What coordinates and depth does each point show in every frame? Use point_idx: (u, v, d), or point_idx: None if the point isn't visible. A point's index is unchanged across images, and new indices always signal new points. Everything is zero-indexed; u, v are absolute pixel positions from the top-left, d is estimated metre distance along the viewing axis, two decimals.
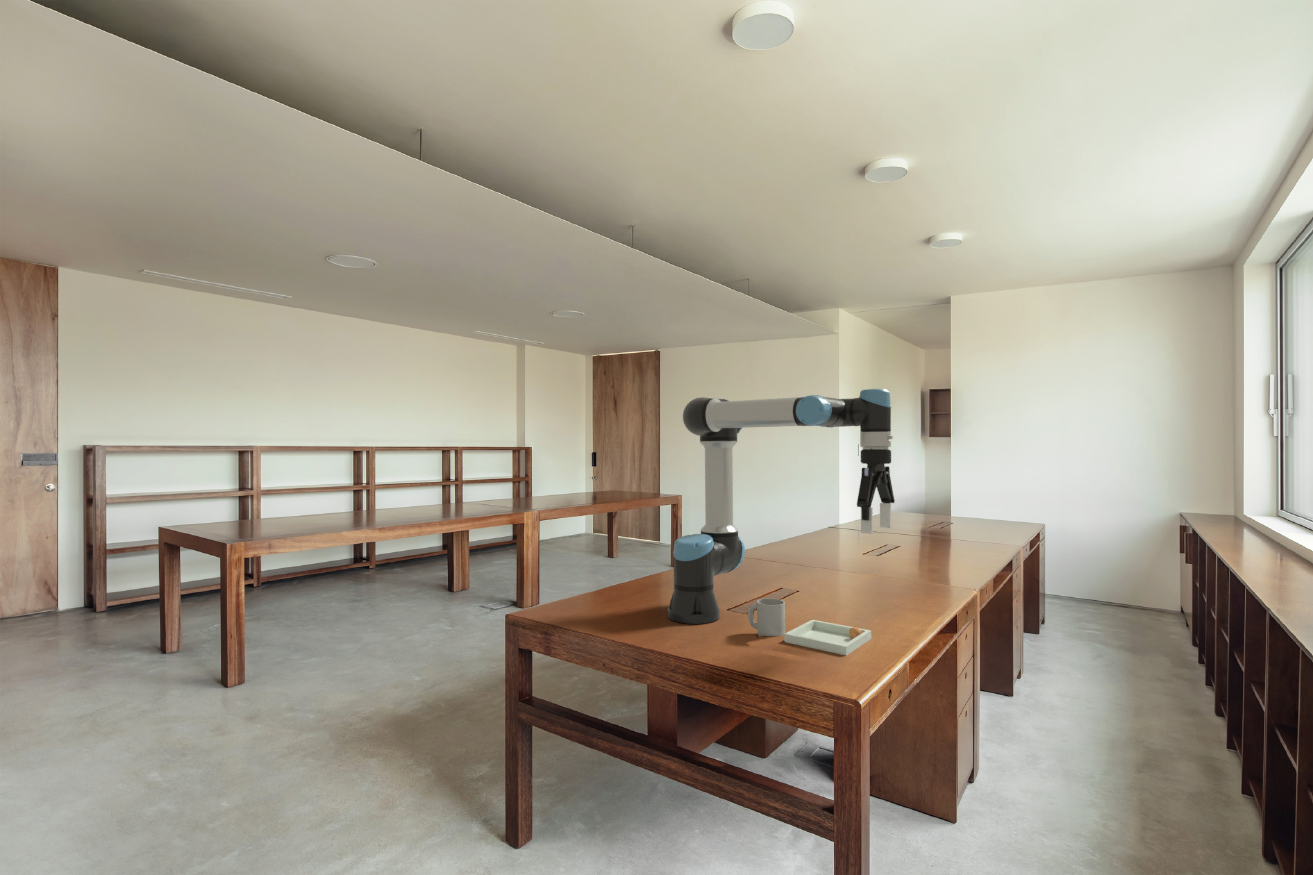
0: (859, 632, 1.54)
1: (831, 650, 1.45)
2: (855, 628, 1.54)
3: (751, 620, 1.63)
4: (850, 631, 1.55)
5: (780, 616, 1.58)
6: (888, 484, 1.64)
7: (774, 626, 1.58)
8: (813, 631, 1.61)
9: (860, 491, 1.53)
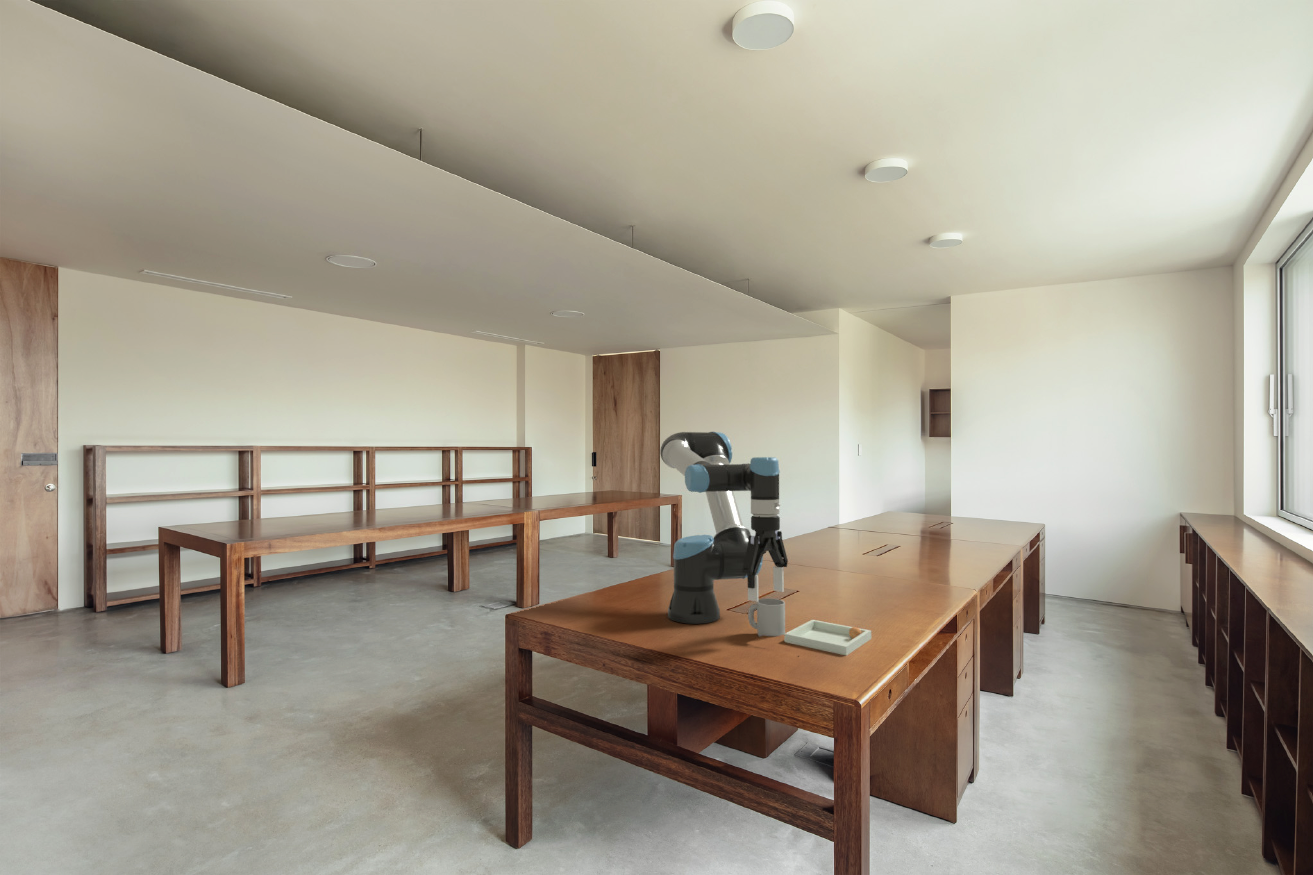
0: (859, 632, 1.54)
1: (831, 650, 1.45)
2: (855, 628, 1.54)
3: (751, 620, 1.63)
4: (850, 631, 1.55)
5: (780, 616, 1.58)
6: (781, 548, 1.67)
7: (774, 626, 1.58)
8: (813, 631, 1.61)
9: (745, 559, 1.56)
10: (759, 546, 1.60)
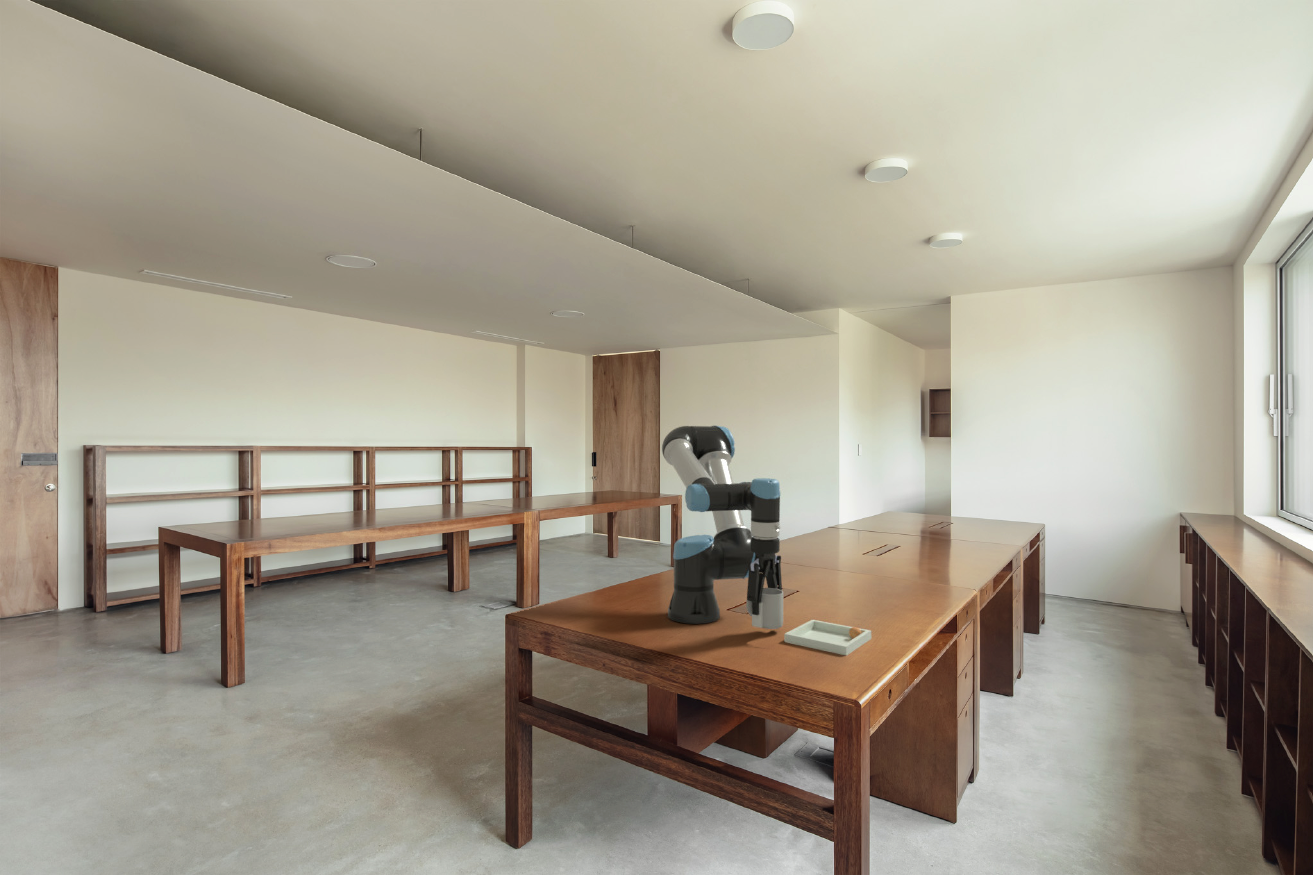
0: (859, 632, 1.54)
1: (831, 650, 1.45)
2: (855, 628, 1.54)
3: (749, 609, 1.64)
4: (850, 631, 1.55)
5: (778, 606, 1.59)
6: (777, 573, 1.66)
7: (773, 615, 1.58)
8: (813, 631, 1.61)
9: (748, 587, 1.58)
10: (758, 568, 1.60)
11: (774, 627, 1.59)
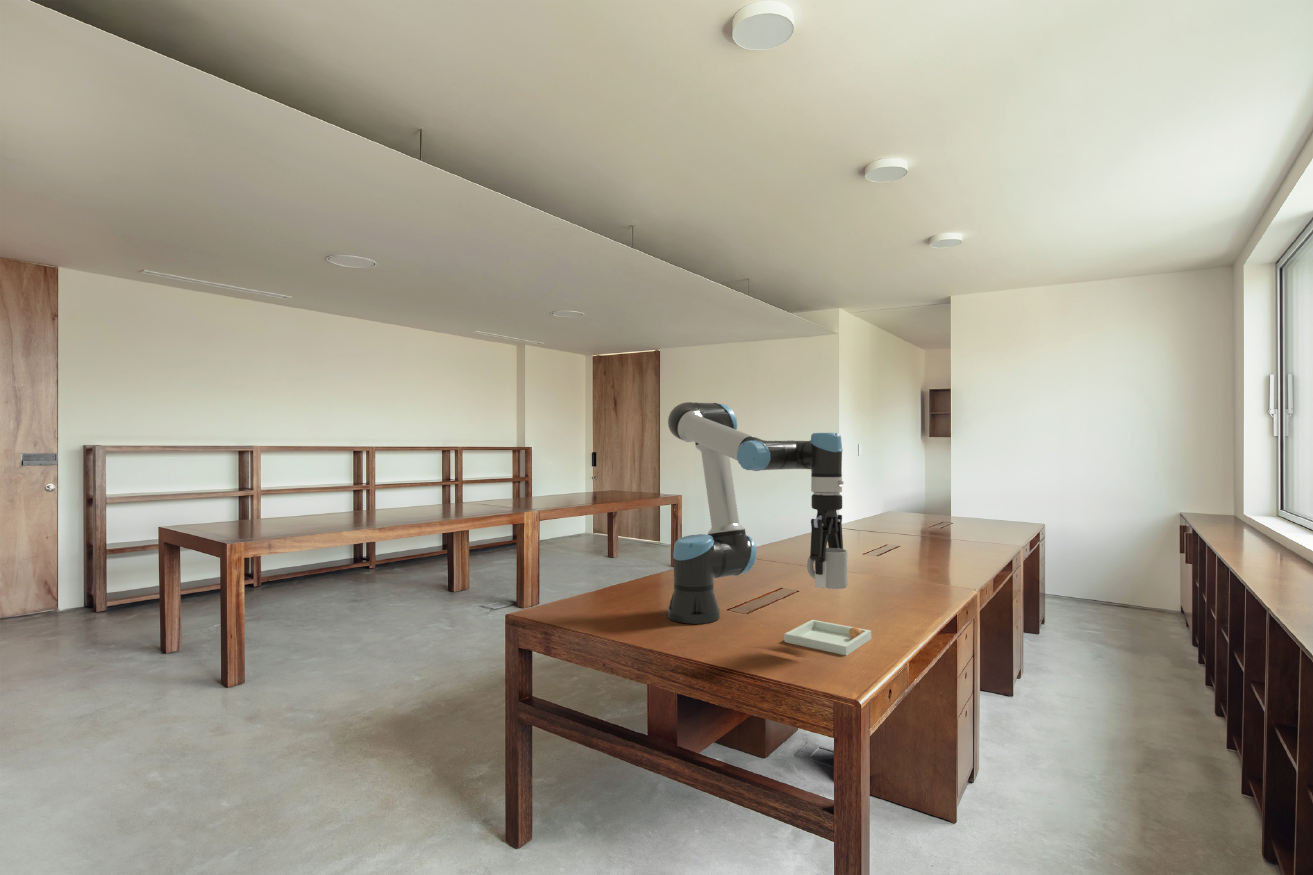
0: (859, 632, 1.54)
1: (831, 650, 1.45)
2: (855, 628, 1.54)
3: (811, 570, 1.55)
4: (850, 631, 1.55)
5: (843, 564, 1.51)
6: (839, 533, 1.58)
7: (838, 574, 1.50)
8: (813, 631, 1.61)
9: (812, 545, 1.50)
10: None
11: (839, 587, 1.50)
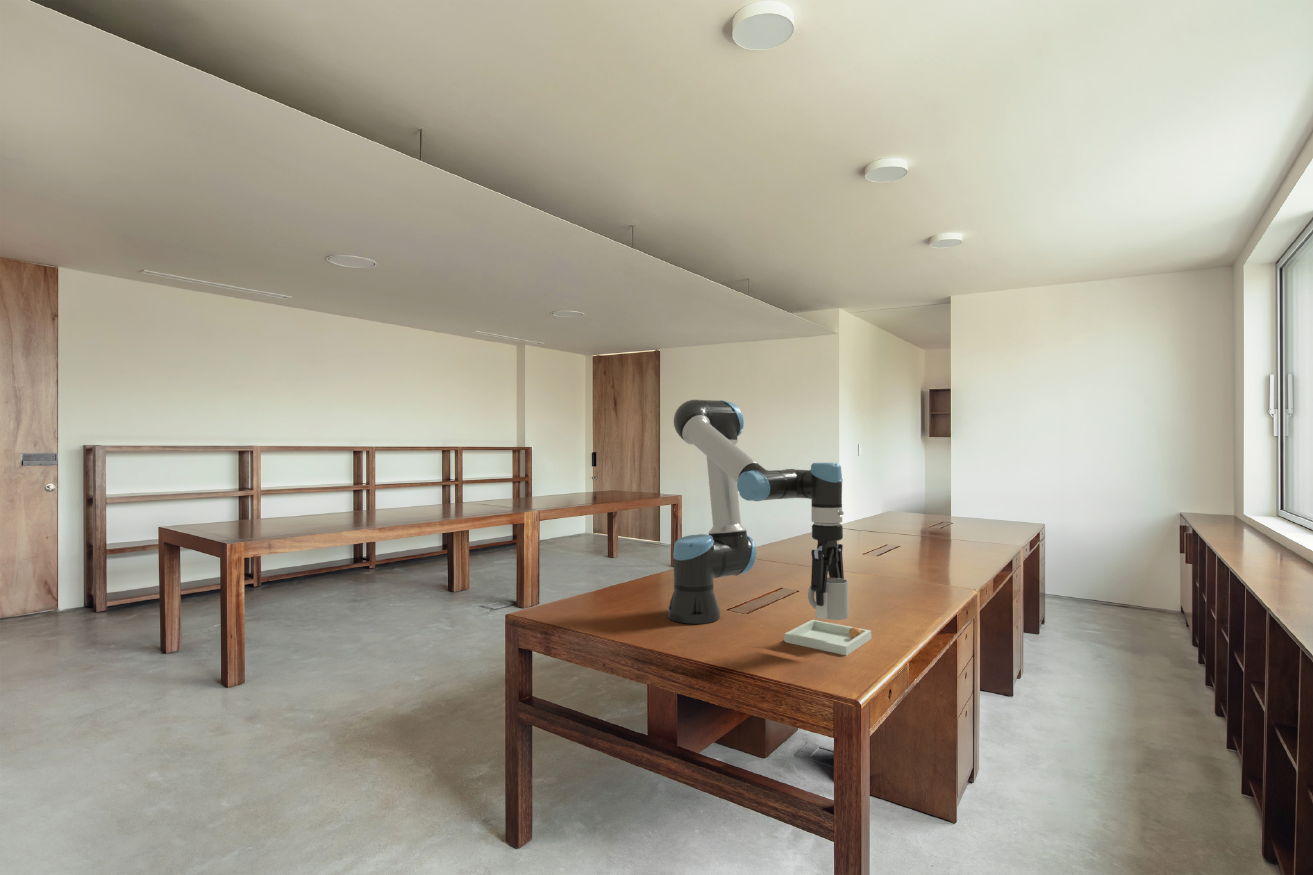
0: (859, 632, 1.54)
1: (831, 650, 1.45)
2: (855, 628, 1.54)
3: (812, 600, 1.55)
4: (850, 631, 1.55)
5: (844, 595, 1.50)
6: (839, 563, 1.58)
7: (839, 605, 1.50)
8: (813, 631, 1.61)
9: (812, 576, 1.50)
10: None
11: (840, 618, 1.50)
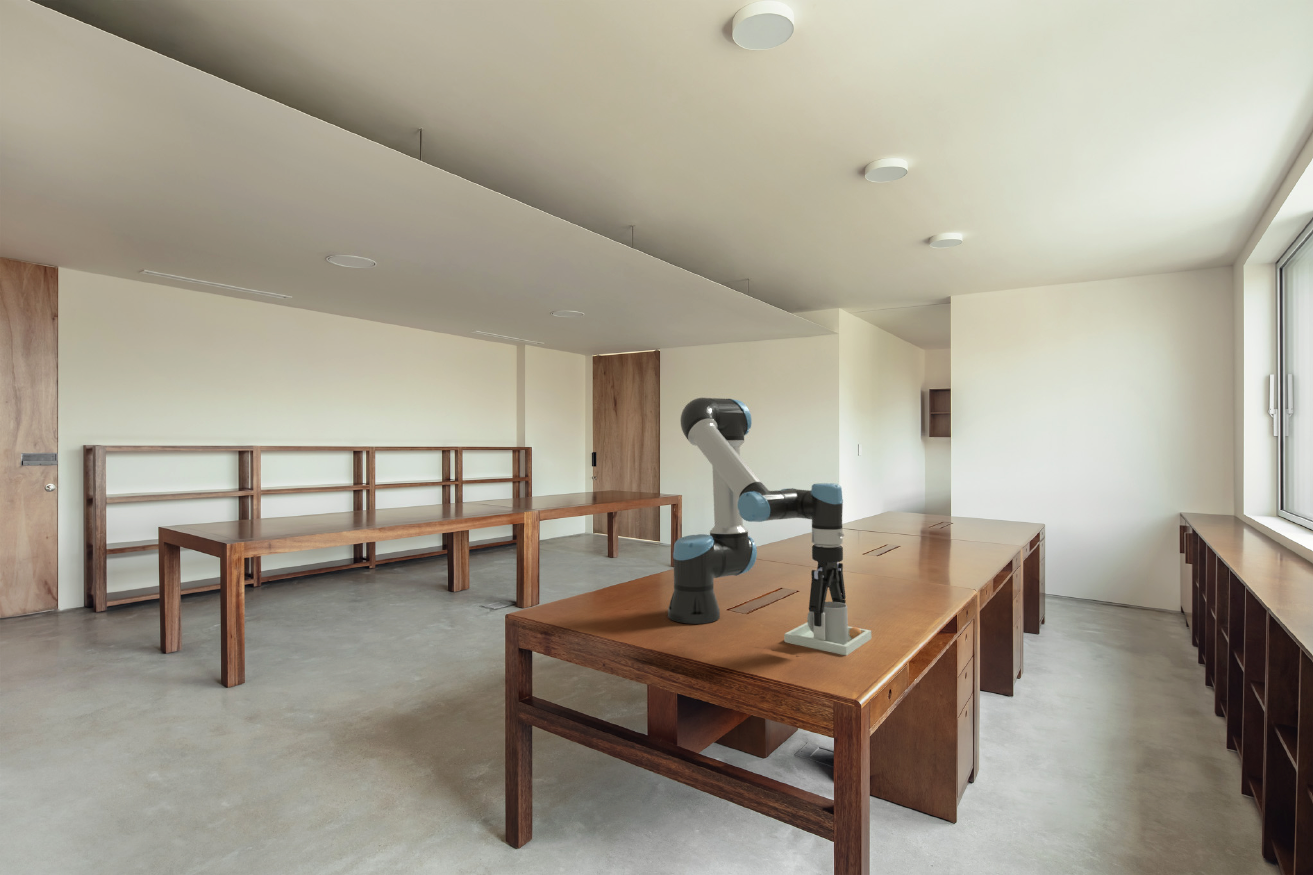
0: (859, 632, 1.54)
1: (831, 650, 1.45)
2: (855, 628, 1.54)
3: (811, 625, 1.55)
4: (850, 631, 1.55)
5: (843, 620, 1.50)
6: (840, 582, 1.59)
7: (838, 630, 1.50)
8: None
9: (811, 596, 1.49)
10: None
11: (840, 643, 1.50)
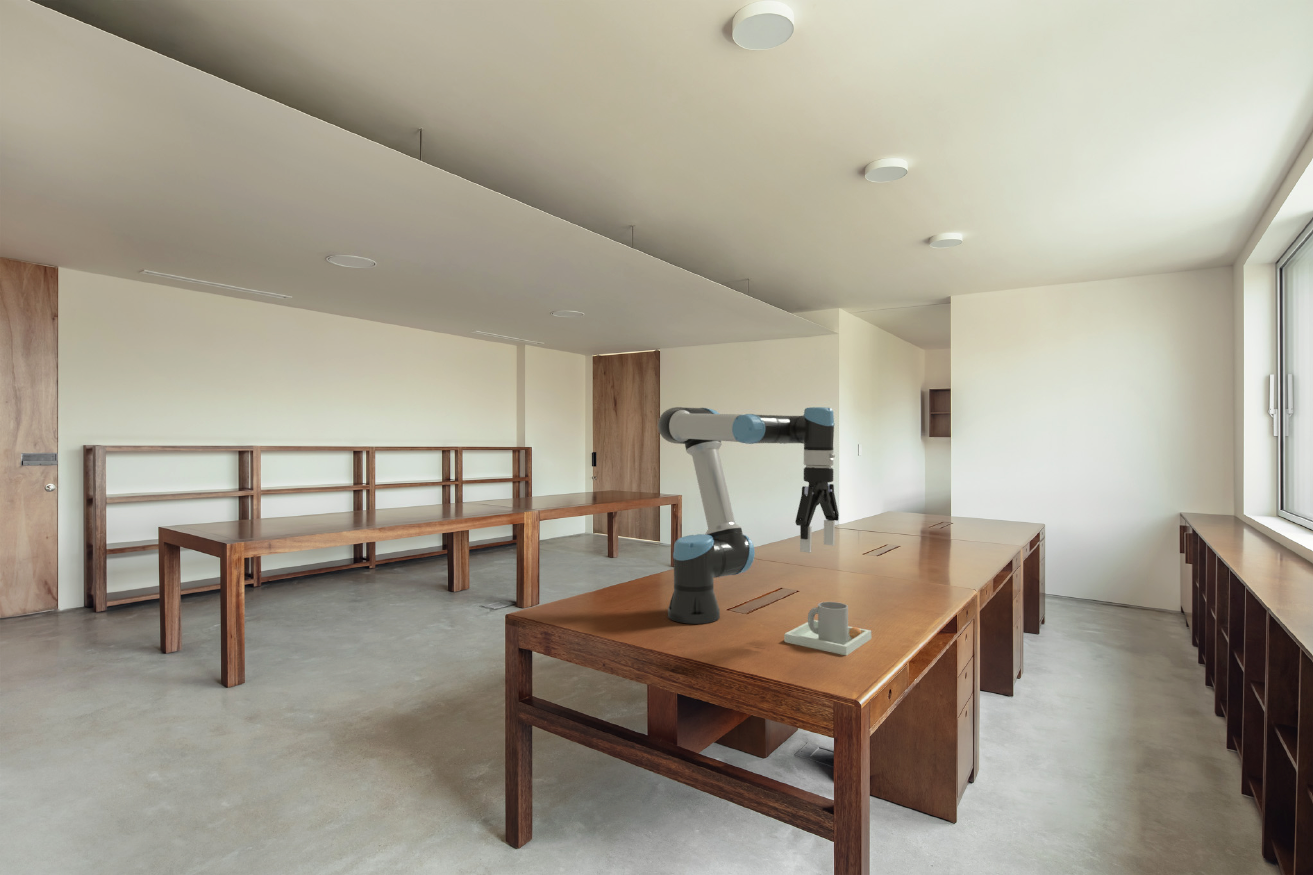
0: (859, 632, 1.54)
1: (831, 650, 1.45)
2: (855, 628, 1.54)
3: (811, 625, 1.55)
4: (850, 631, 1.55)
5: (844, 620, 1.50)
6: (832, 501, 1.64)
7: (838, 631, 1.50)
8: None
9: (799, 510, 1.53)
10: (812, 497, 1.57)
11: (840, 643, 1.50)
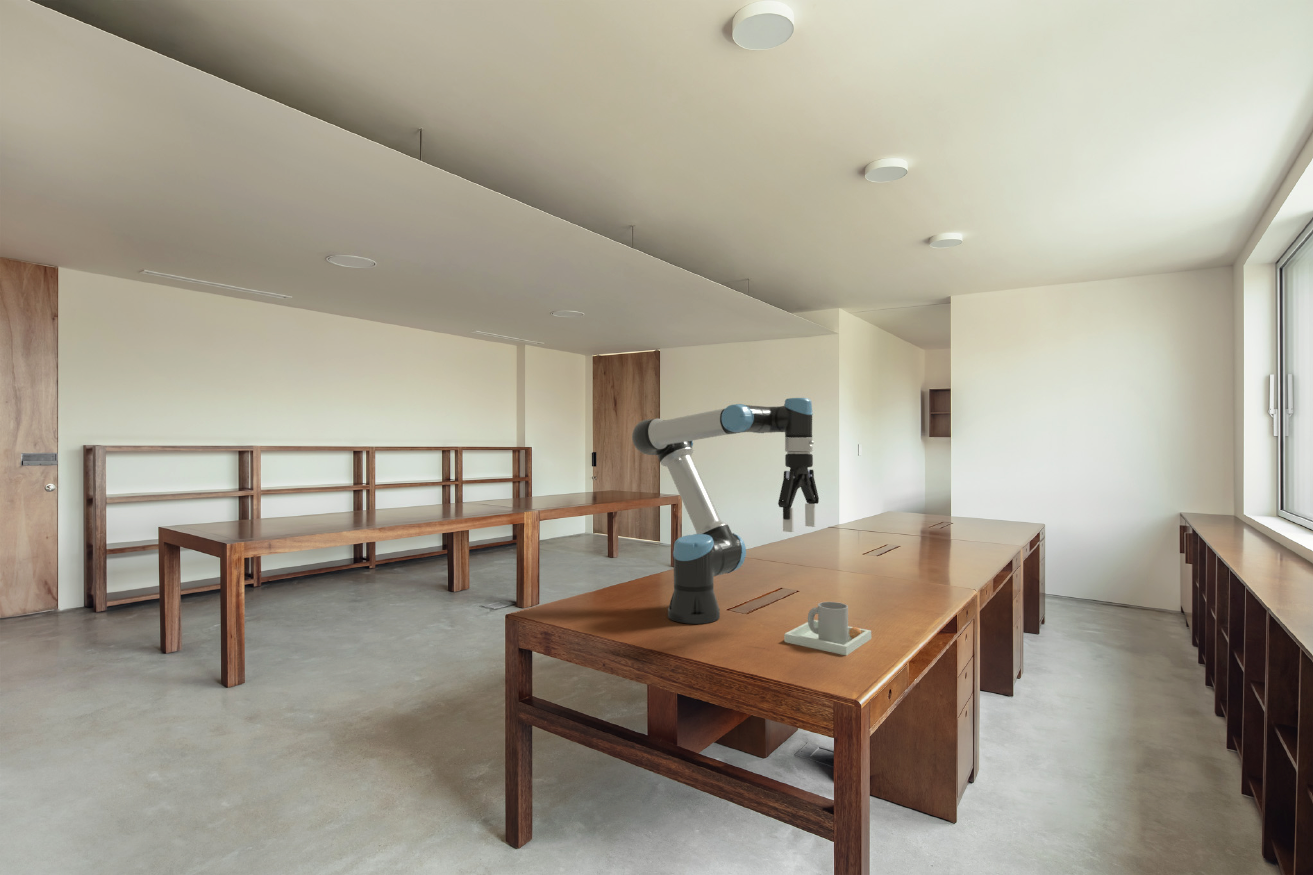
0: (859, 632, 1.54)
1: (831, 650, 1.45)
2: (855, 628, 1.54)
3: (811, 625, 1.55)
4: (850, 631, 1.55)
5: (844, 620, 1.50)
6: (812, 486, 1.76)
7: (838, 631, 1.50)
8: None
9: (781, 492, 1.65)
10: (793, 481, 1.69)
11: (840, 643, 1.50)
